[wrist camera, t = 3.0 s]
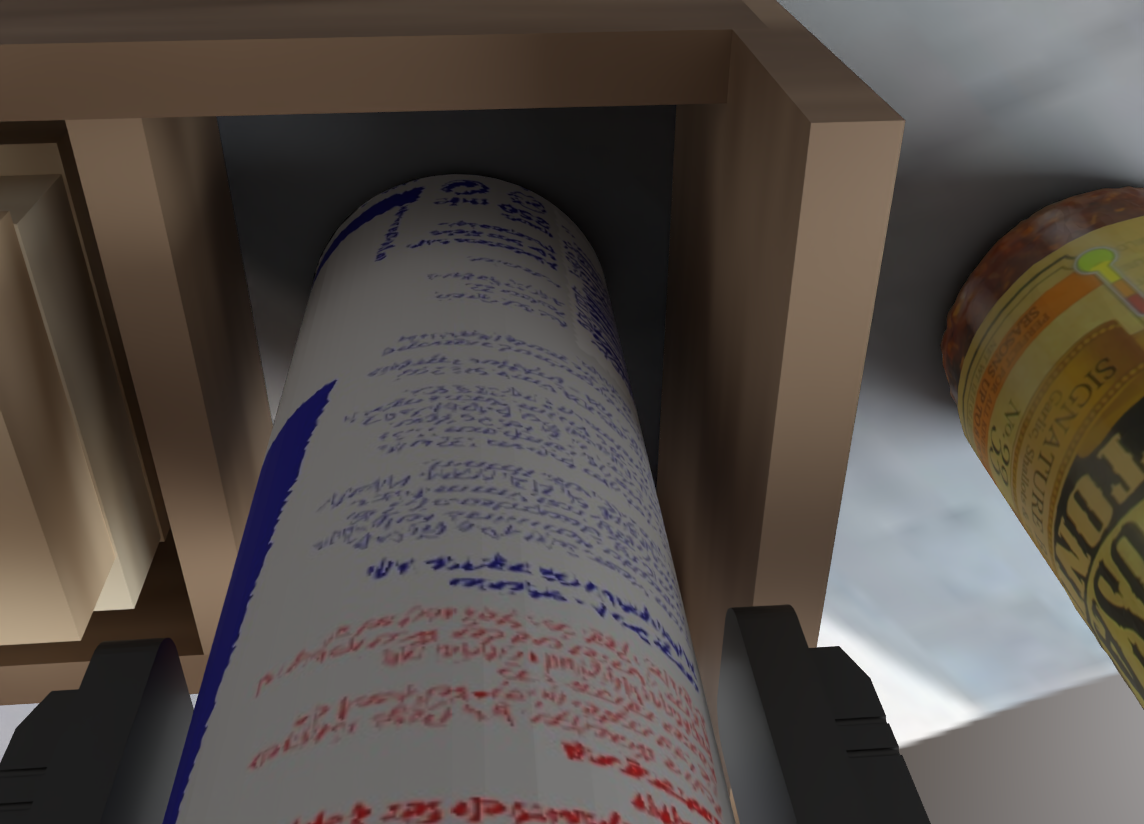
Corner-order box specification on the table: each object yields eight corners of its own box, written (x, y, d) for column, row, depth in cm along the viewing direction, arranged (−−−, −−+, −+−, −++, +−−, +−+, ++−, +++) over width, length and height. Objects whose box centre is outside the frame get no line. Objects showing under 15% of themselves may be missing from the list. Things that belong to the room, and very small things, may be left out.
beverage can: (270, 202, 19) (-93, 1084, 7) (573, 132, 19) (768, 916, 7) (366, 448, 23) (234, 1371, 10) (628, 391, 22) (833, 1263, 10)
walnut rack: (-331, -12, 17) (-865, 167, 10) (742, -31, 18) (906, 120, 11) (-79, 571, 23) (-300, 916, 17) (698, 532, 24) (783, 840, 18)
